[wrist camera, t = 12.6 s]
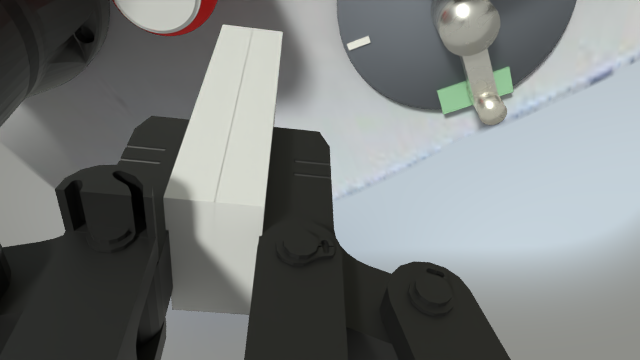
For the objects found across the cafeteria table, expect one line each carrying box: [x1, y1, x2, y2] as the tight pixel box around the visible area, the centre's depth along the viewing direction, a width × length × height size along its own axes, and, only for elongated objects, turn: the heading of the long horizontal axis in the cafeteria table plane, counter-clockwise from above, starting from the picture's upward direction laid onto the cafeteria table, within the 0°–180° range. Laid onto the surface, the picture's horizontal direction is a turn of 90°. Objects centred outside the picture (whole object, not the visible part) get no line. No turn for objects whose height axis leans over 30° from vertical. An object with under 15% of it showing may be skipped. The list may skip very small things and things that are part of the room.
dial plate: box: [337, 0, 576, 114], centre depth 38 cm, size 18×18×1 cm
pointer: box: [431, 0, 507, 125], centre depth 38 cm, size 10×4×5 cm, turn 23°
